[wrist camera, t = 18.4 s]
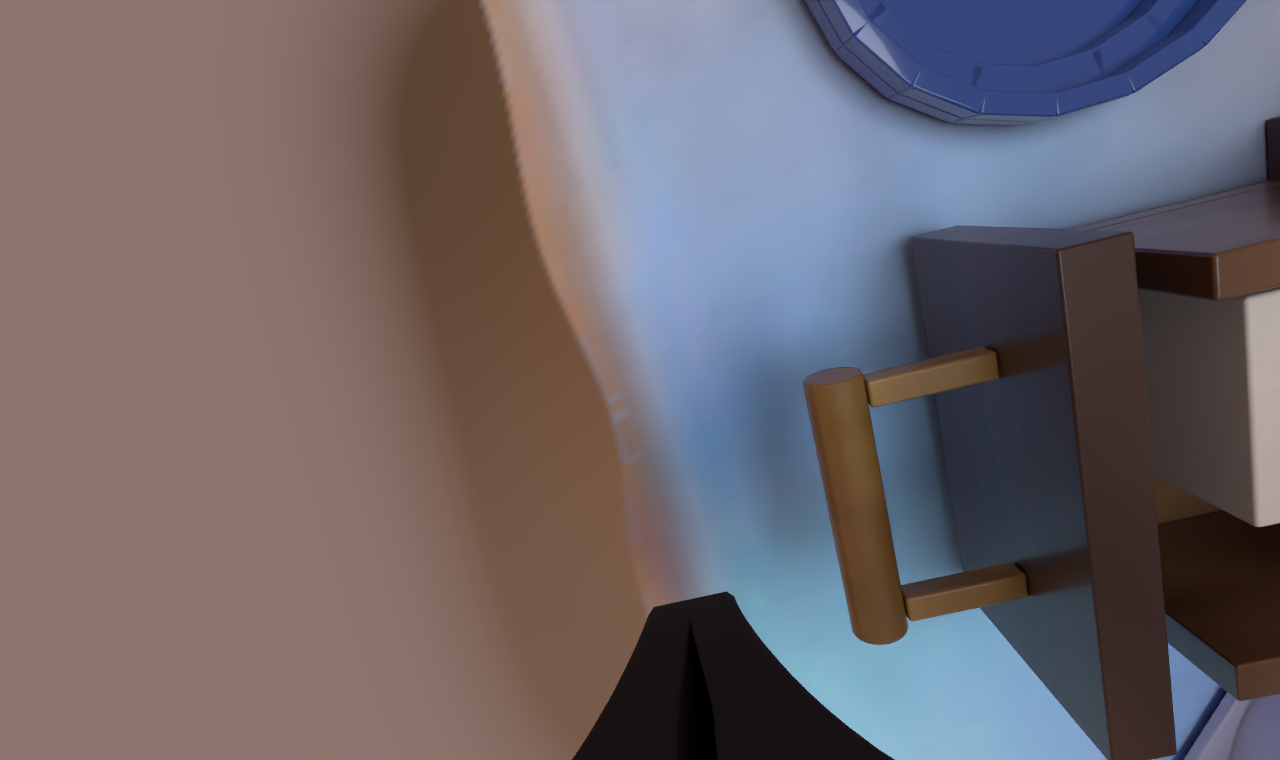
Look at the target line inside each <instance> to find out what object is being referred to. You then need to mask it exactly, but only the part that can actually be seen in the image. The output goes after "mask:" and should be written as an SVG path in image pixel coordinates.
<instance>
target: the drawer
mask: <svg viewBox="0 0 1280 760" xmlns="http://www.w3.org/2000/svg"><path fill="white" fill-rule="evenodd" d="M911 244H912V250H913V257H914V263H915V270H916V276H917V282H918V289H919V295H920V302H921V308H922V315H923V321H924V327H925V334H926V340H927V347H928V353H929V359H927V360H923V361H919V362H915V363H910V364H906V365H902V366H897V367H893V368H889V369H885V370H880V371H876V372H872V373H868V374H863V373H862V371H861V370H860V369H857V368H852V367H840V368H832V369H827V370H823V371H819V372H816V373H814V374H812V375H810V376H808V377H806V378H805V379H804V381H803V387H804V392H805V397H806V402H807V407H808V412H809V417H810V422H811V427H812V432H813V437H814V442H815V447H816V452H817V457H818V462H819V467H820V472H821V477H822V482H823V487H824V492H825V497H826V502H827V507H828V512H829V517H830V522H831V527H832V532H833V537H834V541H835V546H836V551H837V556H838V561H839V566H840V571H841V576H842V581H843V586H844V591H845V596H846V601H847V606H848V611H849V616H850V621H851V626H852V631H853V633H854V634H855V636H856V637H857V638H858V639H860V640H861V641H864V642H866V643H869V644H876V645H883V644H890V643H893V642H896V641H898V640H900V639H901V638H902V637H903V636H904V635H905V634H906V632H907V629H908V623H907V617H908V618H909V620H910V621H916V620H921V619H926V618H931V617H936V616H940V615H945V614H950V613H955V612H960V611H964V610H969V609H974V608H979V607H980V608H981V610H982V611H983V612H984V613H985V614H986V616H987V617H988V618H989V619H990V620H991V622H992V623H993V624H994V625H995V626H996V628H997V629H998V630H999V631H1000V632H1001V633H1002V635H1003V636H1004V637H1005V638H1006V639H1007V641H1008V642H1009V643H1010V644H1011V645H1012V647H1013V648H1014V649H1015V650H1016V651H1017V653H1018V654H1019V655H1020V656H1021V657H1022V658H1023V660H1024V661H1025V662H1026V663H1027V664H1028V666H1029V667H1030V668H1031V669H1032V670H1033V672H1034V673H1035V674H1036V675H1037V676H1038V678H1039V679H1040V680H1041V681H1042V682H1043V683H1044V685H1045V686H1046V687H1047V688H1048V689H1049V691H1050V692H1051V693H1052V694H1053V695H1054V697H1055V698H1056V699H1057V700H1058V701H1059V703H1060V704H1061V705H1062V706H1063V707H1064V708H1065V710H1066V711H1067V712H1068V713H1069V714H1070V716H1071V717H1072V718H1073V719H1074V720H1075V722H1076V723H1077V724H1078V725H1079V726H1080V728H1081V729H1082V730H1083V731H1084V732H1085V734H1086V735H1087V736H1088V737H1089V738H1090V739H1091V741H1092V742H1093V743H1094V744H1095V745H1096V747H1097V748H1098V749H1099V750H1100V751H1101V753H1102V754H1103V755H1104V756H1105V757H1106V759H1107V760H1151V759H1156V758H1162V757H1167V756H1172V755H1175V754H1176V753H1177V751H1176V739H1175V727H1174V715H1173V703H1172V691H1171V679H1170V667H1169V655H1168V643H1169V644H1170V645H1171V646H1172V647H1174V648H1175V649H1176V650H1177V651H1178V652H1180V653H1181V654H1182V655H1183V656H1185V657H1186V658H1187V659H1188V660H1189V661H1191V662H1192V663H1193V664H1194V665H1195V666H1197V667H1198V668H1199V669H1200V670H1201V671H1203V672H1204V673H1205V674H1206V675H1207V676H1209V677H1210V678H1211V679H1212V680H1214V681H1215V682H1216V683H1217V684H1218V685H1220V686H1221V687H1222V688H1223V689H1224V690H1226V691H1227V692H1228V693H1229V694H1230V695H1232V696H1233V697H1234V698H1235V699H1237V700H1238V701H1246V700H1251V699H1256V698H1262V697H1267V696H1272V695H1277V694H1280V523H1278V524H1273V525H1269V526H1264V527H1255V526H1253V525H1251V524H1249V523H1247V522H1245V521H1243V520H1241V519H1239V518H1237V517H1235V516H1233V515H1232V514H1230V513H1228V512H1226V511H1224V510H1222V509H1220V508H1218V507H1216V506H1214V505H1212V504H1210V503H1208V502H1206V501H1204V500H1202V499H1200V498H1199V497H1197V496H1195V495H1193V494H1191V493H1189V492H1187V491H1185V490H1183V489H1181V488H1179V487H1177V486H1175V485H1173V484H1171V483H1169V482H1168V481H1166V480H1164V479H1162V478H1160V477H1158V476H1156V475H1154V474H1153V462H1152V450H1151V438H1150V426H1149V414H1148V402H1147V390H1146V378H1145V366H1144V354H1143V341H1142V329H1141V317H1140V305H1139V293H1138V289H1142V290H1148V291H1155V292H1161V293H1168V294H1175V295H1181V296H1188V297H1194V298H1201V299H1207V300H1214V301H1220V300H1224V299H1228V298H1233V297H1237V296H1241V295H1245V294H1250V293H1254V292H1258V291H1263V290H1267V289H1271V288H1275V287H1280V178H1279V179H1275V180H1271V181H1267V182H1263V183H1259V184H1255V185H1251V186H1246V187H1242V188H1238V189H1234V190H1230V191H1226V192H1222V193H1218V194H1214V195H1210V196H1205V197H1201V198H1197V199H1193V200H1189V201H1185V202H1181V203H1177V204H1173V205H1168V206H1164V207H1160V208H1156V209H1152V210H1148V211H1144V212H1140V213H1136V214H1132V215H1127V216H1123V217H1119V218H1115V219H1111V220H1107V221H1103V222H1099V223H1095V224H1090V225H1086V226H1082V227H1078V228H1074V229H1070V230H1069V229H1041V228H1013V227H985V226H953V227H949V228H945V229H941V230H937V231H933V232H929V233H925V234H921V235H917V236H913V237H911ZM931 394H935V398H936V404H937V411H938V417H939V424H940V430H941V437H942V443H943V449H944V456H945V462H946V469H947V475H948V482H949V488H950V494H951V501H952V507H953V514H954V520H955V526H956V533H957V539H958V546H959V552H960V559H961V565H962V571H963V572H962V573H957V574H952V575H948V576H943V577H938V578H933V579H929V580H924V581H919V582H915V583H910V584H905V585H901V584H900V578H899V573H898V567H897V561H896V556H895V550H894V545H893V539H892V533H891V528H890V522H889V517H888V511H887V506H886V500H885V494H884V489H883V483H882V478H881V472H880V466H879V461H878V455H877V450H876V444H875V439H874V433H873V427H872V422H871V416H870V411H869V405H870V406H871V407H879V406H883V405H888V404H892V403H896V402H901V401H905V400H909V399H914V398H918V397H922V396H927V395H931ZM868 404H869V405H868ZM906 615H907V617H906ZM1167 642H1168V643H1167Z"/></svg>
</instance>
